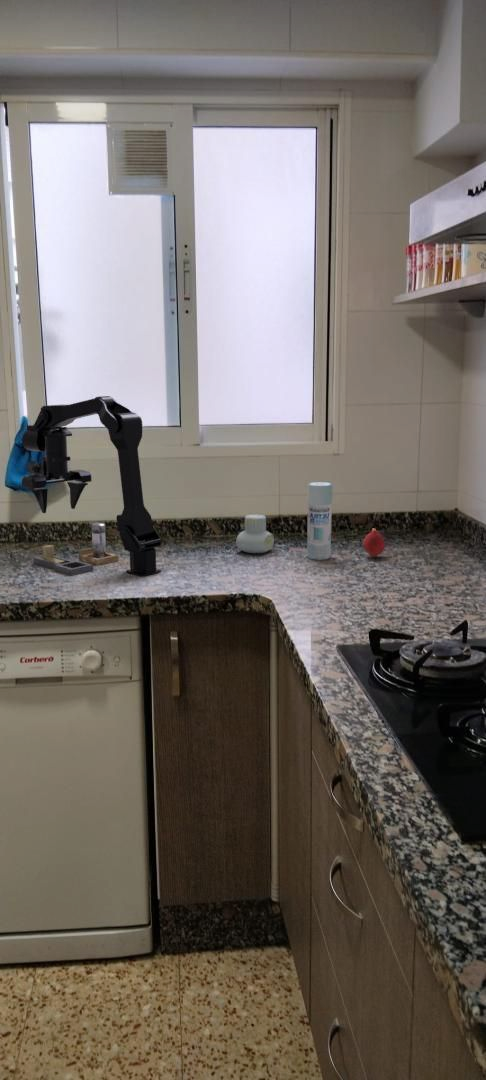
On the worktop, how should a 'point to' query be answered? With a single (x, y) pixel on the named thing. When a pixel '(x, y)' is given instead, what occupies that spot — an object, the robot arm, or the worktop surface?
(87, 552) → the wooden tray
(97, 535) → the salt shaker
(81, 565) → the socket block
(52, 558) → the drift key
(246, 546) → the air freshener
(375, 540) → the onion
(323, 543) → the spray paint can
